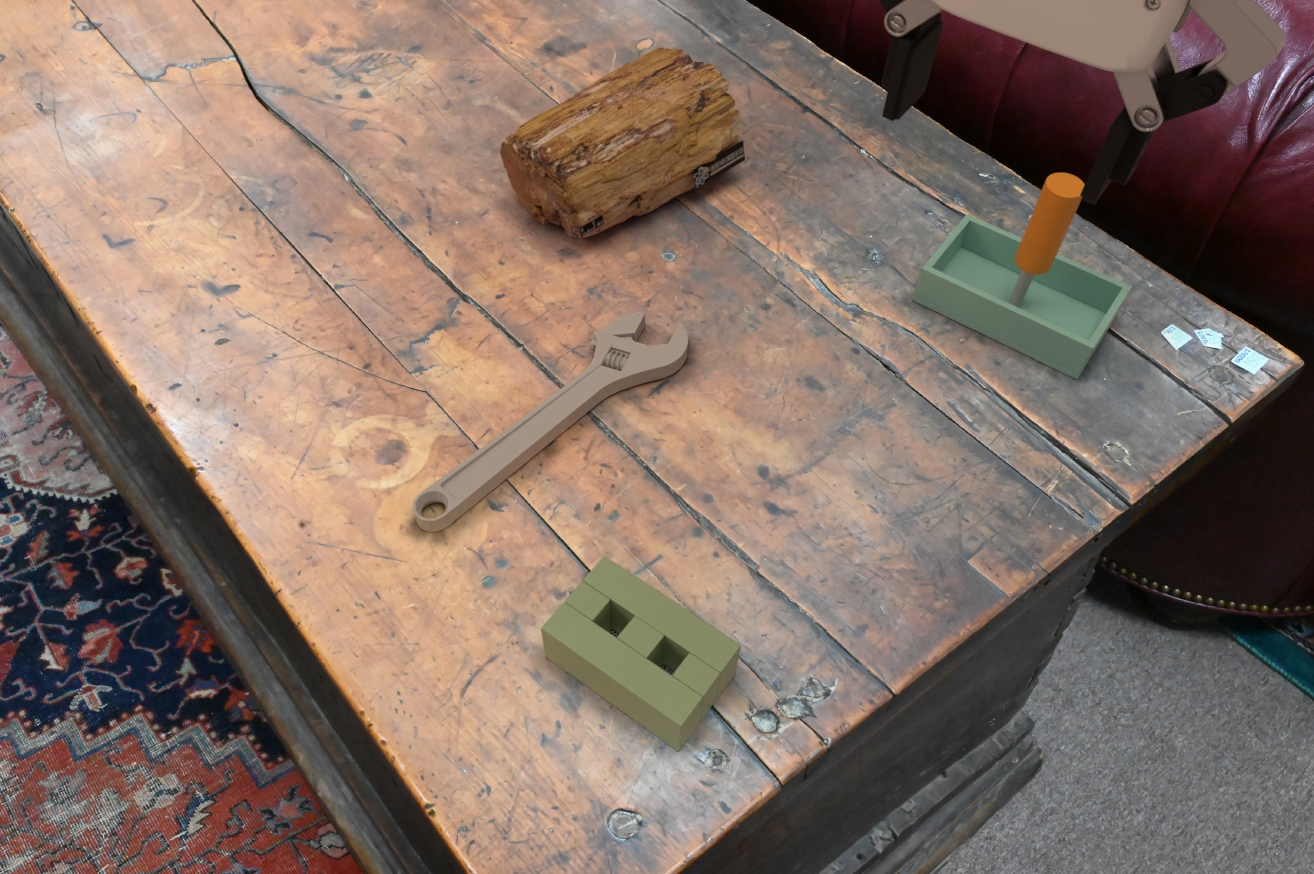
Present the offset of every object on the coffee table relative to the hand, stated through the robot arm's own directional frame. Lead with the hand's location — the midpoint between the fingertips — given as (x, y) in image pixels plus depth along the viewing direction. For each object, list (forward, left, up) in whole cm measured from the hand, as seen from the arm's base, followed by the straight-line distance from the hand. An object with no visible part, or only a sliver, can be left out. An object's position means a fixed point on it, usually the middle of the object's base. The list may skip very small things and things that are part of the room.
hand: (997, 144), depth 46 cm
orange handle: (0, -24, -30) cm, 38 cm away
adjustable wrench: (+23, +7, -31) cm, 39 cm away
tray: (0, -24, -30) cm, 39 cm away
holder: (+6, +19, -30) cm, 36 cm away
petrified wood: (+35, -17, -31) cm, 49 cm away
